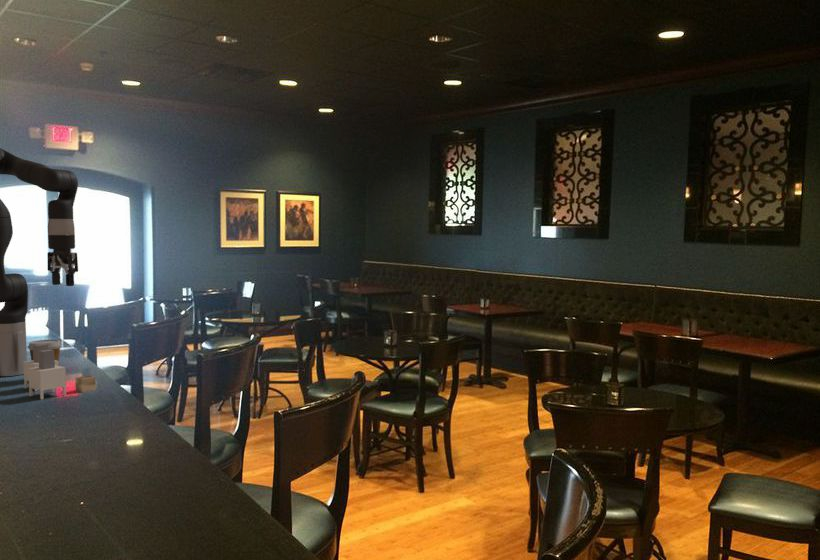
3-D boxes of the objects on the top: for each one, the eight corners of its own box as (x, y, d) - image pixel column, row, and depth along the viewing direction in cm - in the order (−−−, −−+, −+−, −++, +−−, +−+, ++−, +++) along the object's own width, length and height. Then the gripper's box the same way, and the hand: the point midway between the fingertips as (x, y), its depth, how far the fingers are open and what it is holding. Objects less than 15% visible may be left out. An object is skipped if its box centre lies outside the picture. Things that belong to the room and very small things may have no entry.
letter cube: (75, 390, 204) (75, 377, 203) (88, 388, 207) (88, 374, 206) (82, 392, 201) (82, 378, 201) (95, 390, 204) (95, 376, 204)
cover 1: (24, 388, 207) (22, 345, 206) (48, 384, 212) (46, 342, 211) (35, 391, 203) (33, 347, 202) (59, 387, 208) (57, 344, 207)
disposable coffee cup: (37, 383, 213) (36, 344, 213) (23, 379, 219) (22, 342, 218) (68, 378, 221) (66, 341, 220) (53, 374, 227) (52, 338, 226)
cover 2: (29, 396, 196) (27, 351, 196) (54, 391, 202) (52, 347, 201) (41, 399, 192) (39, 353, 191) (66, 394, 198) (64, 350, 197)
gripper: (38, 233, 217) (39, 285, 218) (60, 233, 208) (62, 287, 209) (61, 233, 223) (63, 283, 224) (85, 233, 214) (86, 285, 215)
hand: (63, 285), depth 216 cm, fingers open, 8 cm apart
